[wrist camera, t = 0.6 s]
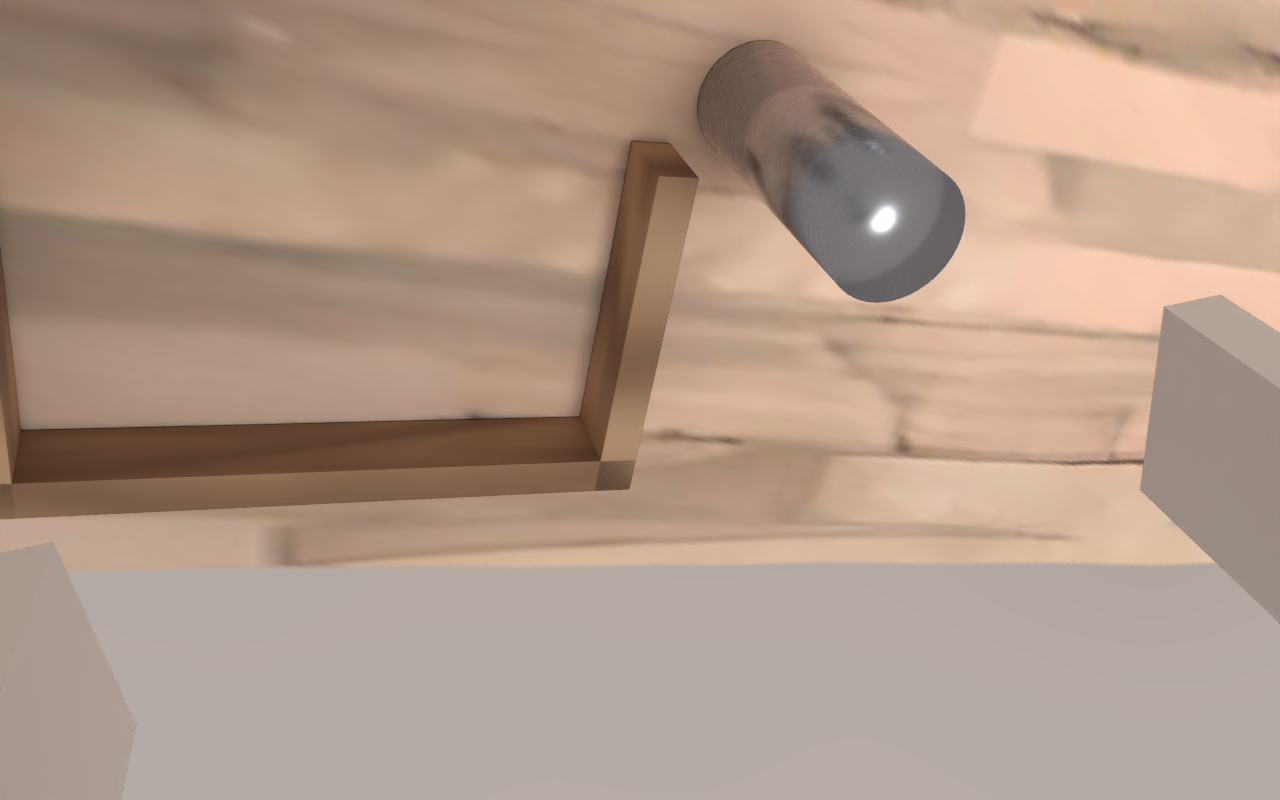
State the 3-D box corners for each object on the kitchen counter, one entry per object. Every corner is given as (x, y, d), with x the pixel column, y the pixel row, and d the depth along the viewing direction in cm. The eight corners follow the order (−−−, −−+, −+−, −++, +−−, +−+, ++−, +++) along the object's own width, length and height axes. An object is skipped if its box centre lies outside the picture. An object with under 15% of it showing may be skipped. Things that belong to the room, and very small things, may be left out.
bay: (-73, 97, 28) (-92, 136, 26) (670, 143, 35) (698, 178, 33) (-23, 465, 34) (-34, 521, 32) (607, 444, 41) (629, 489, 39)
